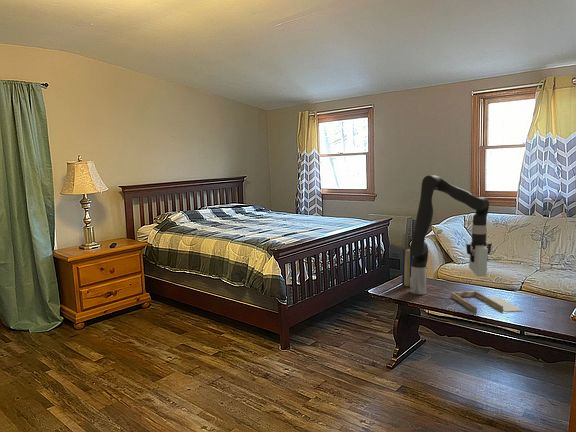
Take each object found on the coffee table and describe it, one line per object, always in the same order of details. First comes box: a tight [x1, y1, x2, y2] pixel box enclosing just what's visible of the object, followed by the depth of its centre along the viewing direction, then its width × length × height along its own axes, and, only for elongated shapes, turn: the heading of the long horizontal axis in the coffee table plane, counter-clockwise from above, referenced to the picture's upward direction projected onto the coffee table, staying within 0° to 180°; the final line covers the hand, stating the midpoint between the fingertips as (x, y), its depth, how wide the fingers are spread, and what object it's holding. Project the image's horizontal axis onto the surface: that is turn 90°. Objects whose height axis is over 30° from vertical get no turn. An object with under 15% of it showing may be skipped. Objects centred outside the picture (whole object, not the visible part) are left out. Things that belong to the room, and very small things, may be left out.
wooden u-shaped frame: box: [450, 290, 504, 314], centre depth 254 cm, size 16×29×3 cm, turn 4°
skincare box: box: [468, 241, 489, 278], centre depth 249 cm, size 21×6×16 cm, turn 169°
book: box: [401, 247, 413, 287], centre depth 297 cm, size 22×7×25 cm, turn 134°
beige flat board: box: [489, 296, 524, 313], centre depth 251 cm, size 10×24×1 cm, turn 4°
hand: (478, 261), depth 249 cm, fingers closed on skincare box, 6 cm apart
